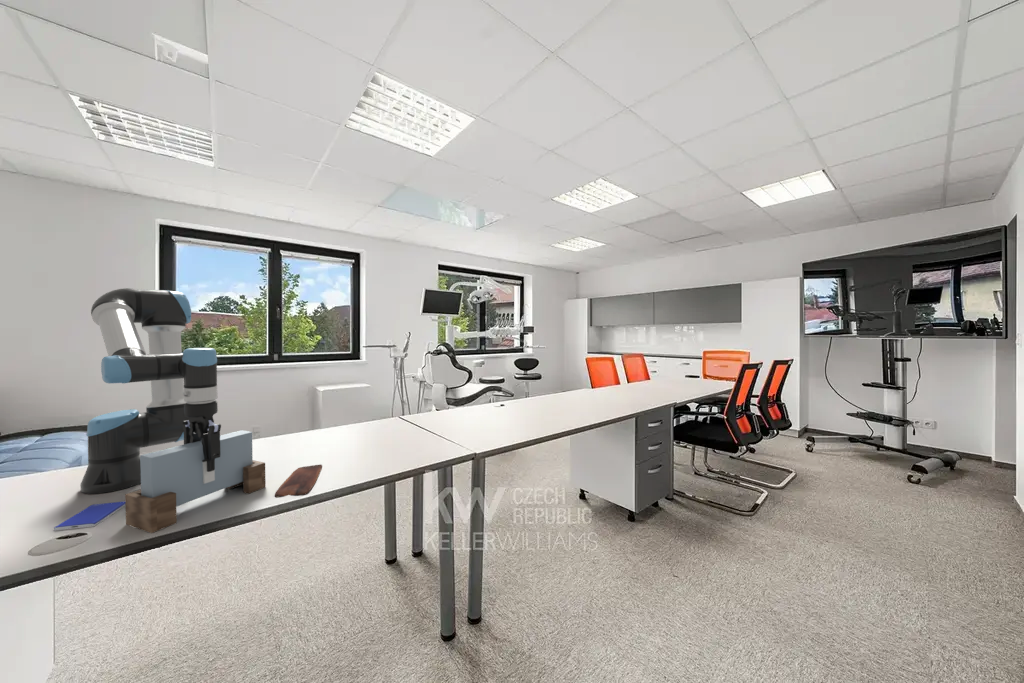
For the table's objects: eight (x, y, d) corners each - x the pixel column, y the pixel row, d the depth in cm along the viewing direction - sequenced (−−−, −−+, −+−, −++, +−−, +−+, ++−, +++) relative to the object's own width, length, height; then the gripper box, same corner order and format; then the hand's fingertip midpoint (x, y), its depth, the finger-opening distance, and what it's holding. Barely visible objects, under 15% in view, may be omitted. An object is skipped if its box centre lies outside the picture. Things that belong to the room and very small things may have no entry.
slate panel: (141, 511, 100) (140, 455, 100) (242, 475, 125) (241, 430, 124) (152, 515, 99) (151, 458, 98) (252, 477, 123) (252, 432, 122)
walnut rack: (126, 524, 100) (125, 494, 99) (242, 481, 128) (241, 458, 127) (151, 533, 96) (150, 501, 95) (265, 487, 124) (265, 462, 123)
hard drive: (90, 504, 108) (53, 526, 96) (126, 500, 111) (94, 522, 99) (91, 509, 108) (53, 532, 97) (127, 506, 111) (94, 528, 99)
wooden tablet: (297, 464, 142) (326, 458, 144) (297, 469, 142) (327, 464, 144) (271, 495, 116) (307, 488, 118) (272, 502, 116) (308, 495, 119)
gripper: (166, 400, 110) (168, 479, 111) (206, 406, 104) (208, 490, 105) (195, 396, 117) (197, 470, 118) (235, 401, 111) (236, 480, 112)
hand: (202, 480), depth 112 cm, fingers closed on slate panel, 5 cm apart
